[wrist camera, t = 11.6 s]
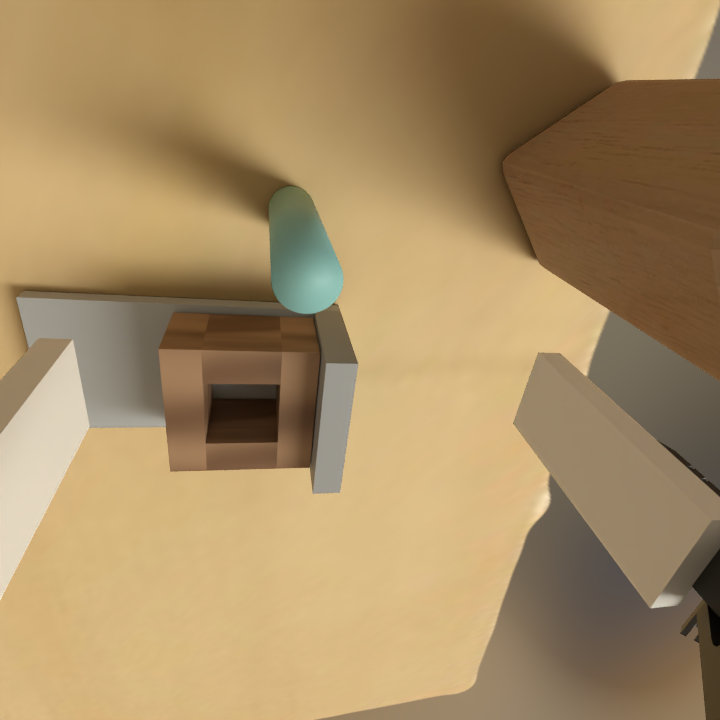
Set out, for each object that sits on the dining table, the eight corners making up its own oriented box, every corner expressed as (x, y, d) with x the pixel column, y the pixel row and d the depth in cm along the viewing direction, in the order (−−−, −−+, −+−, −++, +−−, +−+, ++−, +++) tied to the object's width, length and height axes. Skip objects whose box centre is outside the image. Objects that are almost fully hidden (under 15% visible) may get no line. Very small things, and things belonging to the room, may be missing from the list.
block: (537, 269, 38) (754, 414, 21) (492, 159, 33) (730, 234, 16) (649, 199, 37) (975, 295, 20) (620, 73, 32) (1025, 59, 15)
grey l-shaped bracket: (23, 290, 32) (-54, 355, 24) (338, 305, 37) (358, 364, 29) (54, 419, 37) (-1, 506, 30) (325, 417, 42) (340, 492, 34)
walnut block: (173, 312, 33) (158, 349, 29) (313, 317, 35) (320, 352, 31) (181, 424, 38) (170, 471, 33) (304, 423, 40) (309, 467, 35)
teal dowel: (269, 183, 31) (272, 242, 20) (316, 188, 32) (347, 247, 20) (268, 231, 33) (270, 312, 21) (313, 234, 34) (339, 315, 22)
